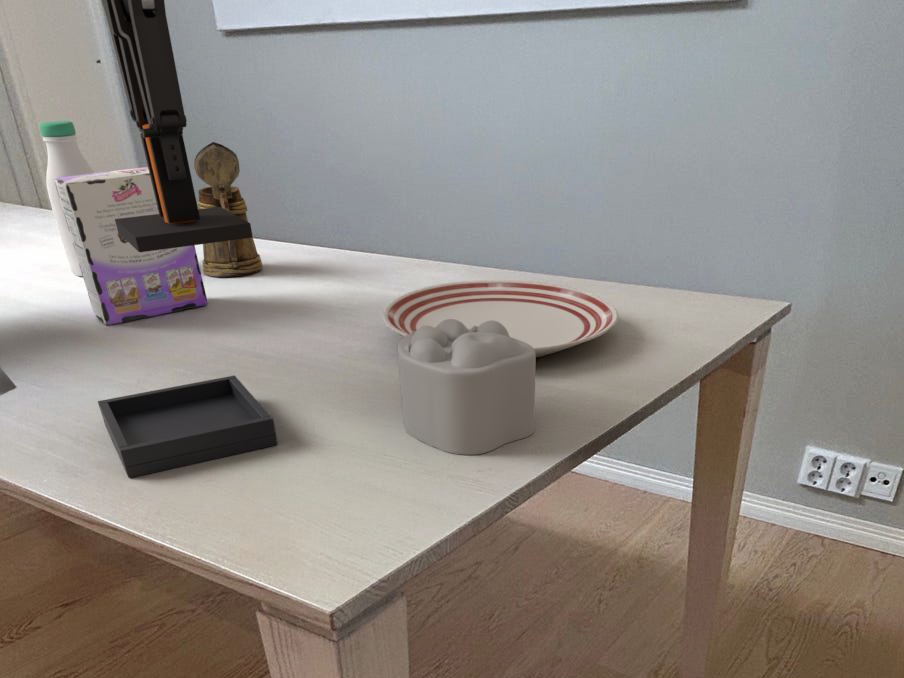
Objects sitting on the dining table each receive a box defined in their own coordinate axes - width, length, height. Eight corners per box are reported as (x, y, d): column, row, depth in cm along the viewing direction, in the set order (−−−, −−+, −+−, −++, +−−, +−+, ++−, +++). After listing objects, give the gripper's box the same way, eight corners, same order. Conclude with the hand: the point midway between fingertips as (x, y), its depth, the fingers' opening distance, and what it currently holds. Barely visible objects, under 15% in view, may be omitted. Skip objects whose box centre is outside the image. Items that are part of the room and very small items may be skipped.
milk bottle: (83, 280, 125) (37, 126, 113) (64, 272, 129) (18, 123, 117) (132, 271, 129) (92, 120, 117) (112, 263, 134) (72, 118, 121)
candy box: (193, 297, 116) (163, 163, 106) (209, 306, 112) (179, 168, 102) (93, 316, 109) (51, 175, 99) (106, 326, 105) (64, 181, 95)
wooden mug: (208, 287, 120) (178, 144, 109) (201, 267, 130) (173, 134, 119) (270, 281, 122) (246, 139, 111) (258, 261, 132) (235, 130, 121)
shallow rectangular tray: (105, 426, 79) (97, 401, 78) (239, 399, 84) (234, 375, 82) (128, 478, 70) (120, 451, 68) (278, 445, 75) (273, 418, 73)
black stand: (118, 233, 77) (89, 124, 72) (223, 220, 81) (202, 116, 76) (139, 252, 70) (108, 134, 65) (253, 237, 74) (232, 124, 69)
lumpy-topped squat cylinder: (463, 461, 71) (459, 360, 66) (376, 419, 79) (366, 326, 74) (549, 428, 76) (552, 332, 71) (460, 391, 84) (456, 303, 79)
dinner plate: (633, 311, 105) (636, 283, 103) (590, 386, 84) (591, 353, 82) (432, 298, 112) (430, 272, 110) (346, 365, 91) (342, 334, 89)
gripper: (177, -150, 57) (245, 226, 71) (132, -119, 68) (199, 200, 82) (61, -155, 54) (156, 237, 68) (34, -122, 65) (121, 209, 79)
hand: (179, 216), depth 75 cm, fingers closed on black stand, 3 cm apart
